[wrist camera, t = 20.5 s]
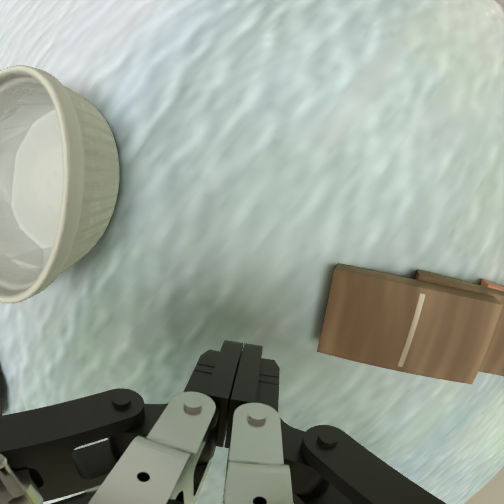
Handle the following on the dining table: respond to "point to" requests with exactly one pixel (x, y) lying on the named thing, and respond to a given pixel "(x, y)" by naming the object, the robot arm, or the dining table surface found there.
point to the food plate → (0, 405)
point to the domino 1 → (407, 324)
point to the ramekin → (50, 180)
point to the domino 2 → (500, 348)
